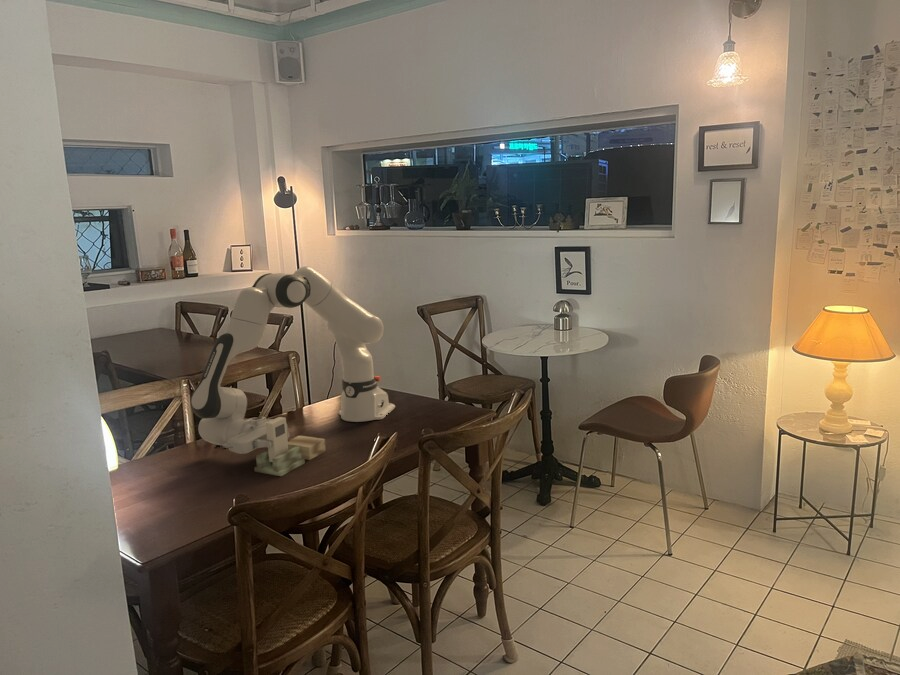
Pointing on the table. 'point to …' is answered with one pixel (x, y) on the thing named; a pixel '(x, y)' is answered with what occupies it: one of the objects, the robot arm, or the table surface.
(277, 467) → the rack
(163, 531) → the table surface
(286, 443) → the white block with panel
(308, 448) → the stand
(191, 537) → the table surface
